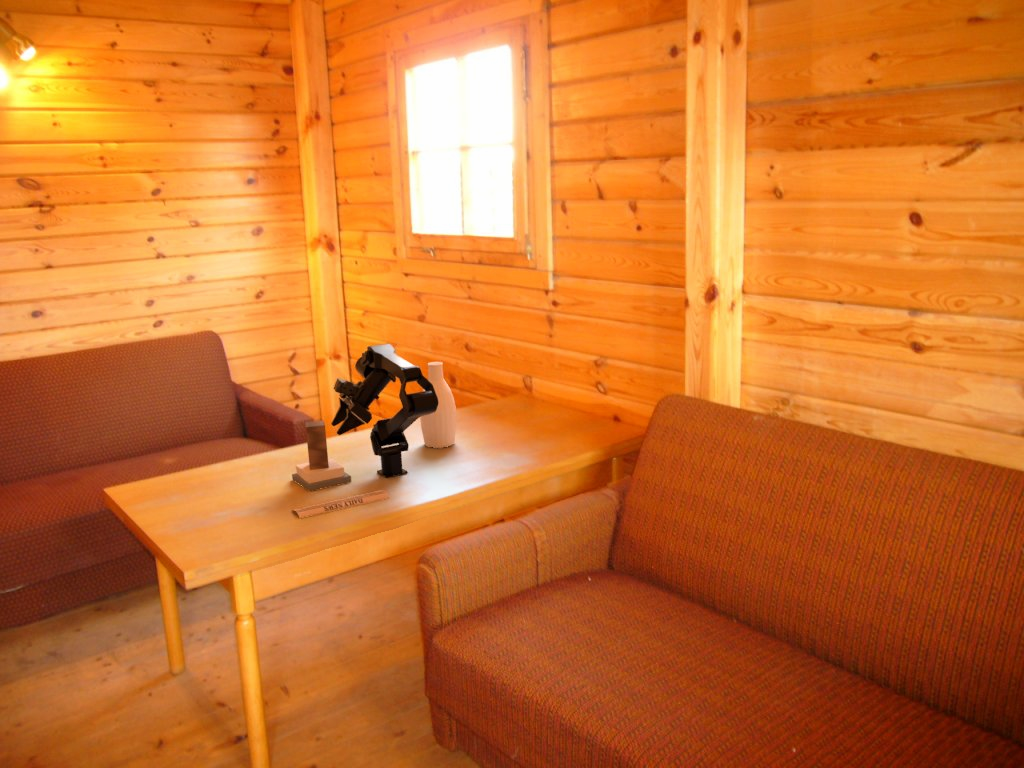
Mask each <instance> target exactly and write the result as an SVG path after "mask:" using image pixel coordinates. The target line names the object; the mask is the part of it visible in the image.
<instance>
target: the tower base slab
mask: <svg viewBox="0 0 1024 768" xmlns="http://www.w3.org/2000/svg"><path fill="white" fill-rule="evenodd" d="M344 475H345V476H342V477H337V478H333V479H328V480H323V481H319V482H314V483H308V482H306V481H305V480H304V479H303V478H301V477H300V476H299V475H298V474H297V472H295V473H291V477H292V478H291V479H293V480H294V481H293V480H292V481H293V482H295V481H296V482H297V483H299V484H300V485H302V486H303V487H304V489H305V488H306V489H307V490H306V489H305V490H306V491H308V490H309V491H310V492H313V491H312V490H315V491H317V490H316V489H319V490H321V489H320V488H323V489H326V488H325V487H327V488H330V487H329V486H332V487H335V486H334V485H336V486H339V485H338V484H340V485H343V484H342V483H344V484H348V483H347V482H349V483H352V477H351V475H350V474H349V473H347V472H345V471H344ZM296 482H295V483H296ZM297 483H296V484H297ZM299 484H298V485H299ZM300 485H299V486H300ZM302 486H301V487H302ZM303 487H302V488H303ZM309 491H308V492H309Z"/></svg>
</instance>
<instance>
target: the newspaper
mask: <svg viewBox="0 0 1024 768" xmlns="http://www.w3.org/2000/svg"><path fill="white" fill-rule="evenodd" d="M386 498H389V499H390V495H389V494H388V493H387V492H386V491H385V490H382V489H379V490H375V491H371V492H367V493H363V494H358V495H353V496H348V497H344V498H339V499H335V500H331V501H330V500H329V501H326V502H322V503H318V504H314V505H313V504H312V505H309V506H304V507H300V508H295V509H292V510H291V512H293V511H296V512H295V513H296V514H297V516H298V517H299V519H300V518H301V519H303V518H302V517H305V518H307V517H306V516H310V517H312V516H311V515H314V516H317V515H316V514H318V515H321V514H320V513H323V514H327V513H330V512H329V511H332V512H334V511H333V510H336V511H339V510H338V509H340V510H343V509H342V508H345V509H348V508H347V507H349V508H352V507H357V506H356V505H358V506H362V505H366V503H367V504H369V503H370V502H371V503H375V502H379V501H378V500H380V501H383V500H382V499H384V500H387V499H386ZM374 501H375V502H374ZM371 503H370V504H371ZM326 512H327V513H326Z"/></svg>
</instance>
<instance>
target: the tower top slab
mask: <svg viewBox="0 0 1024 768" xmlns="http://www.w3.org/2000/svg"><path fill="white" fill-rule="evenodd" d="M328 465H329V468H324V469H315V470H310V466H309V462H305V463H298V464H296V465H295V469H296V471H295V472H296V473H297V474H298V475H299V476H300V477H301V478H303V479H304V480H305V481H306V482H308V483H314V482H319V481H323V480H328V479H333V478H337V477H342V476H345V475H344V472H345V466H343V465H342V464H340V463H338V462H337V461H336V460H334V459H332V458H331V457H330V458H329V457H328Z"/></svg>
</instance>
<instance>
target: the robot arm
mask: <svg viewBox="0 0 1024 768" xmlns="http://www.w3.org/2000/svg"><path fill="white" fill-rule="evenodd" d="M366 349H367V350H365V351H364V352H362V353H361V357H359V358H358V359H357V361H356V362H355V364H354V365H355V366H354V367H355V368H354V369H355V370H356V372H357V373H358V374H359V375H360V376H361V377H362V378H363V379H364V380H363V381H362V380H360V381H357V383H354V382H352V381H349V380H345V379H342V378H339V377H337V378H336V381H335V383H334V387H333V388H332V389H333V390H334V392H336V393H337V394H338V395H339V397H338V403H339V407H338V408H337V411H336V413H335V415H334V417H333V419H332V421H331V426H333V427H336V426H337V425H339V424H340V426H339V428H338V429H337V431H336V433H337V435H338V436H341V435H343V434H345V433H347V432H349V431H351V430H352V431H353V430H354V429H356V428H358V427H361V426H363V425H366V424H367V425H368V424H369V423H370V421H371V420H372V419H373V416H372V415H373V414H372V413H371V412H370V406H371V405H372V403H374V401H375V400H376V401H378V400H379V398H380V396H379V395H380V394H381V393H382V391H384V390H385V388H386V387H387V386H388V385H389V383H390V382H393V383H396V382H397V379H399V382H400V390H399V396H398V397H399V401H400V403H401V406H402V408H401V409H400V410H398V412H396V414H395V415H393V417H390V418H384V419H378V420H377V421H376V422H375V424H374V423H373V425H372V426H373V427H372V429H371V432H370V436H369V437H370V438H369V439H370V442H371V447H372V451H373V453H374V456H379V457H380V465H381V466H380V467H381V469H377V470H376V472H377V474H379V475H381V476H383V477H385V478H388V479H389V478H393V477H396V476H400V475H405V474H408V473H409V472H408V470H406V469H405V468H403V457H402V455H403V454H402V452H408V451H409V446H410V445H409V443H408V440H407V438H406V435H405V431H406V430H407V429H409V428H410V426H412V425H413V424H414V422H416V421H417V420H418V419H419V418H420V417H421V416H424V415H428V414H431V413H434V412H435V411H436V410H437V407H438V398H437V395H436V392H435V390H434V387H433V385H432V384H431V383H430V382H429V381H428V378H427V377H425V376H424V375H423V372H422V369H421V368H420V366H418V365H414V364H413V363H411V362H409V361H407V360H405V359H404V358H403V357H401V356H399V355H398V354H397V353H396V349H395V347H394V346H393V345H391V343H383V344H377V345H369V346H367V347H366ZM414 382H416V383H417V385H419V386H420V387H421V388H422V391H420V392H419V391H418V392H412V393H407V391H406V388H407V384H408V383H414ZM423 389H424V390H425V391H423Z"/></svg>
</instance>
